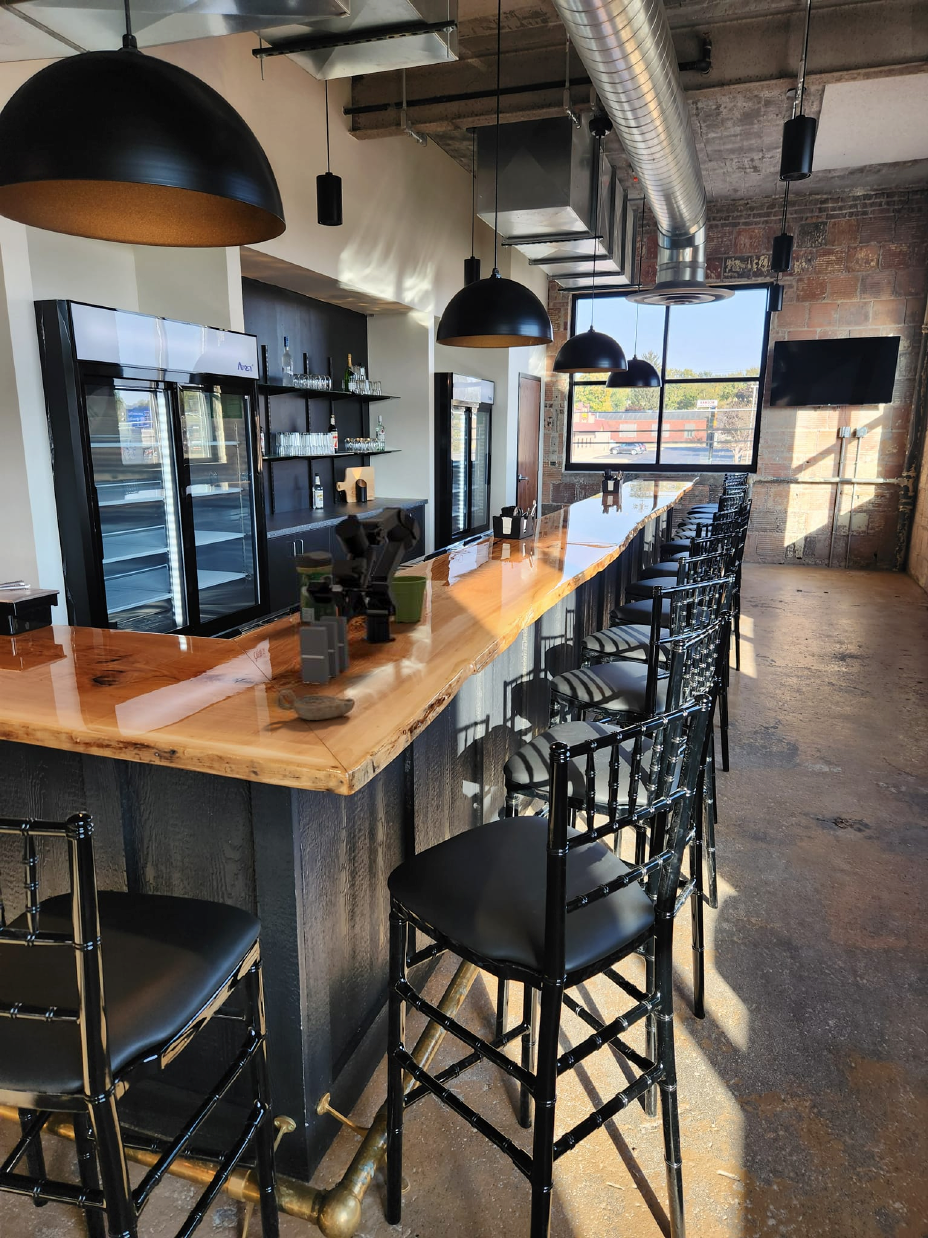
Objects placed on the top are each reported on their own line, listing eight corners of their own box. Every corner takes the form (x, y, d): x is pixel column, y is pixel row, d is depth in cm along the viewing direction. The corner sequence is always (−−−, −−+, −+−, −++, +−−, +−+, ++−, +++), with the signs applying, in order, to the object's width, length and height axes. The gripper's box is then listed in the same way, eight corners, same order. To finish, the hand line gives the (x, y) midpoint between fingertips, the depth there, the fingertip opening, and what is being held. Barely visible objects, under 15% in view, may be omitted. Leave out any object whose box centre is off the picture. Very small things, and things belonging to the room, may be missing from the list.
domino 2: (316, 673, 160) (313, 621, 158) (339, 675, 159) (337, 622, 157) (312, 676, 158) (309, 622, 156) (336, 677, 157) (333, 623, 155)
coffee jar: (320, 616, 216) (317, 549, 213) (341, 619, 212) (338, 550, 208) (294, 622, 209) (290, 553, 205) (315, 626, 204) (311, 554, 200)
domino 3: (326, 667, 165) (323, 616, 163) (348, 668, 164) (346, 616, 161) (323, 669, 163) (320, 617, 161) (345, 670, 162) (343, 618, 160)
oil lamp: (357, 710, 138) (356, 682, 137) (352, 724, 130) (350, 695, 129) (282, 711, 138) (280, 684, 136) (273, 726, 130) (271, 697, 129)
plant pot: (410, 613, 218) (409, 573, 215) (438, 620, 209) (437, 578, 207) (375, 620, 210) (374, 578, 208) (403, 627, 201) (402, 583, 199)
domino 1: (306, 680, 155) (303, 626, 153) (329, 682, 154) (326, 627, 152) (302, 683, 154) (298, 628, 151) (326, 684, 152) (323, 629, 150)
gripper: (306, 543, 169) (286, 603, 161) (389, 544, 165) (372, 606, 157) (323, 574, 178) (305, 632, 170) (401, 576, 174) (387, 636, 166)
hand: (341, 626), depth 165 cm, fingers closed
